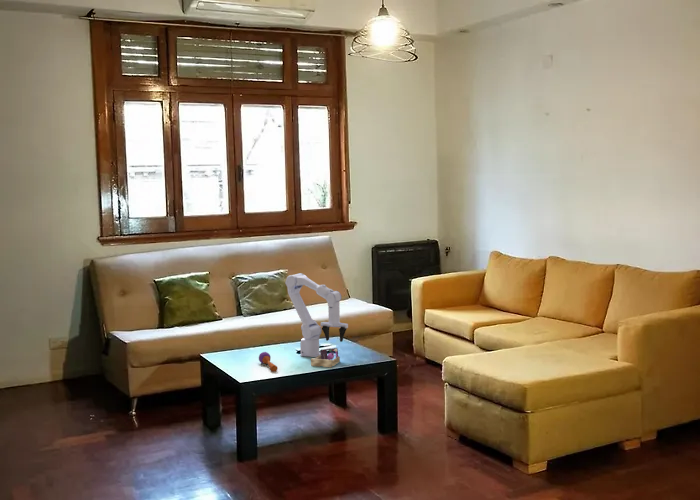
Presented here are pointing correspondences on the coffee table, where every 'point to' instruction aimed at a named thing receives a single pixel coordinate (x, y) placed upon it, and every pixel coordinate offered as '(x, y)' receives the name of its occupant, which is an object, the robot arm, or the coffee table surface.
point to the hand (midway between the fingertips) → (334, 340)
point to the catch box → (324, 362)
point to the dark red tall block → (330, 355)
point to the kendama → (267, 360)
